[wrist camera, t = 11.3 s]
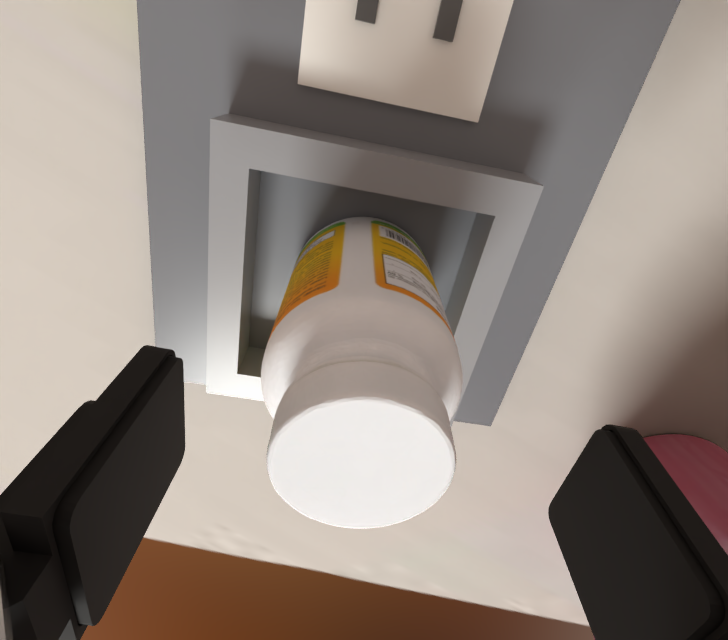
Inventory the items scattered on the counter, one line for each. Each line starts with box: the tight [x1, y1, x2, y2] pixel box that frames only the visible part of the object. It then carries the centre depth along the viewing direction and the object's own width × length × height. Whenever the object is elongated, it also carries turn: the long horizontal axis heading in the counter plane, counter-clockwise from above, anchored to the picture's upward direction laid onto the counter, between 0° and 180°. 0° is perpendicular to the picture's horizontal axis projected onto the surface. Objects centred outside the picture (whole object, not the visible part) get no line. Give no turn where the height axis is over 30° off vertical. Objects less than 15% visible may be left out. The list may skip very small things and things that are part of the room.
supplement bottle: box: [261, 217, 463, 529], centre depth 13 cm, size 5×5×10 cm
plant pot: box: [593, 434, 728, 640], centre depth 20 cm, size 14×14×13 cm
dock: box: [137, 0, 681, 428], centre depth 15 cm, size 16×20×3 cm
